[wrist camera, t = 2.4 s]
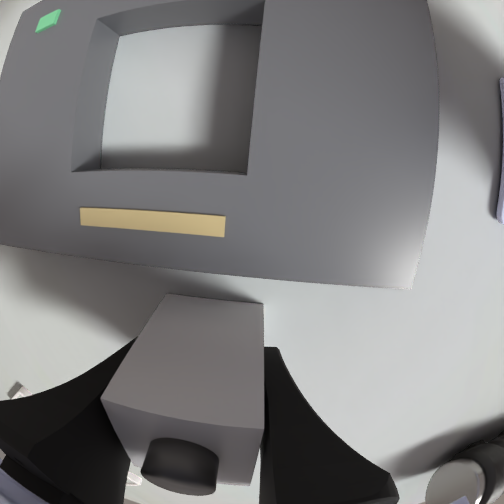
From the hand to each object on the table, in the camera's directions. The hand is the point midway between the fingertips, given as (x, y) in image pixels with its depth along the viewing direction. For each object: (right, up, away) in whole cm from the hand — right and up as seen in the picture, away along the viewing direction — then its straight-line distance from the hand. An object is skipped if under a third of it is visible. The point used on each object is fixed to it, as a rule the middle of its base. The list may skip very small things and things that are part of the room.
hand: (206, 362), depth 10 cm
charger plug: (0, +1, +2) cm, 2 cm away
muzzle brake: (+35, -21, +8) cm, 42 cm away
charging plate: (-1, +10, -2) cm, 10 cm away
